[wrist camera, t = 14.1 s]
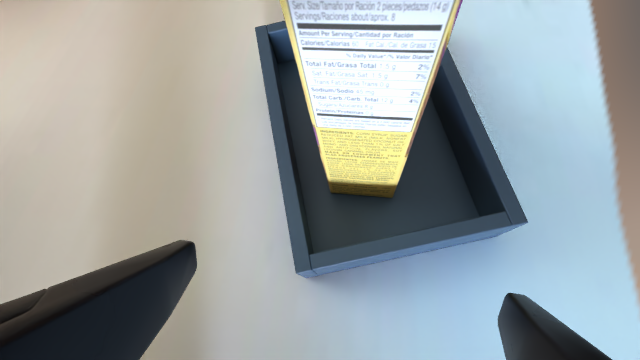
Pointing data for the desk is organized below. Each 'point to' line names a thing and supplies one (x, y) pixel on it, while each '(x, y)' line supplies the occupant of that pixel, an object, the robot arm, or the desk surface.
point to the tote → (413, 186)
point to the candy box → (367, 81)
